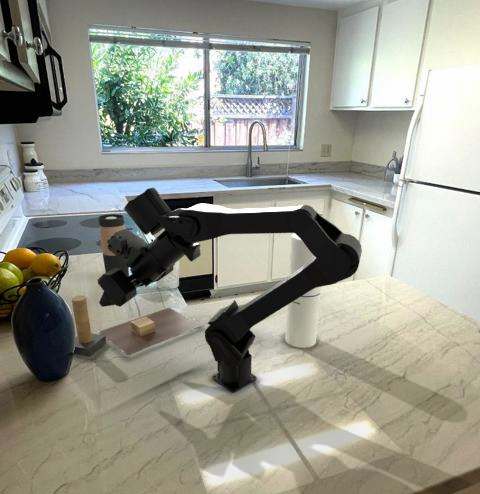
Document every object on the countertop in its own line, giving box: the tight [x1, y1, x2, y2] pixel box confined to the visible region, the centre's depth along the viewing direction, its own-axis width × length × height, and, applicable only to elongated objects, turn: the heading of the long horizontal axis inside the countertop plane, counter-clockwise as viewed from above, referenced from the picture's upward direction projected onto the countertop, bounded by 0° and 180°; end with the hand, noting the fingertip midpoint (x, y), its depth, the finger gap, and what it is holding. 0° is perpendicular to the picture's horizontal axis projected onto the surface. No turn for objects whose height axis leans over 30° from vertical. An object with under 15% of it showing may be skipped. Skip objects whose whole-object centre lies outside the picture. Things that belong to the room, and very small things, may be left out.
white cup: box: [156, 259, 180, 290], centre depth 123 cm, size 8×8×10 cm
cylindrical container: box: [284, 233, 322, 349], centre depth 90 cm, size 7×7×25 cm
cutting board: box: [98, 307, 202, 356], centre depth 97 cm, size 14×20×1 cm
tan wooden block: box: [130, 316, 155, 337], centre depth 95 cm, size 4×4×2 cm
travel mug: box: [98, 213, 130, 277], centre depth 127 cm, size 8×8×20 cm
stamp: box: [71, 295, 107, 358], centre depth 86 cm, size 6×6×13 cm
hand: (115, 295), depth 82 cm, fingers open, 9 cm apart
